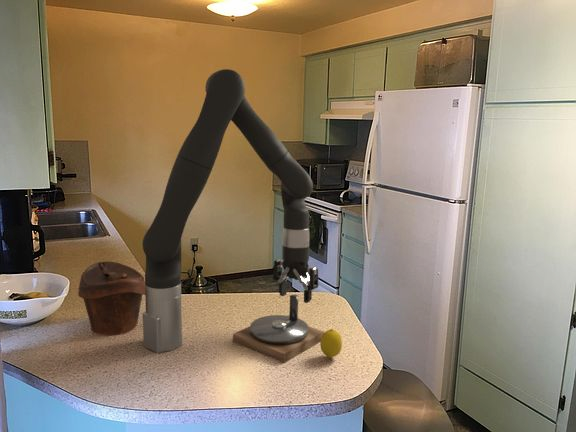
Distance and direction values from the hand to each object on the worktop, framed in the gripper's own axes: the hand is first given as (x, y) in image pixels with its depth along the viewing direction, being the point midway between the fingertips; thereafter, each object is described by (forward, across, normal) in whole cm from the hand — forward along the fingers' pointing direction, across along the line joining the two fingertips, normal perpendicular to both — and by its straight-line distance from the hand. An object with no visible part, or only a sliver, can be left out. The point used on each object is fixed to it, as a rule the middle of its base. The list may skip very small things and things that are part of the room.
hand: (294, 298), depth 138 cm
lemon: (+11, +16, -6) cm, 20 cm away
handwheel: (+8, 0, -7) cm, 10 cm away
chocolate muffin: (+10, -42, -31) cm, 53 cm away
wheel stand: (+11, 0, -7) cm, 13 cm away
